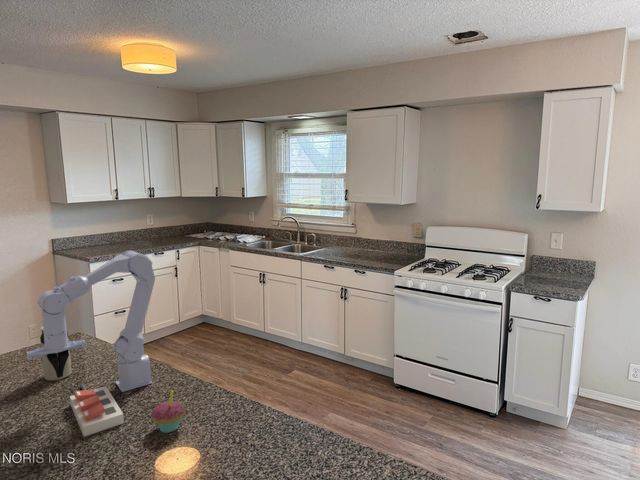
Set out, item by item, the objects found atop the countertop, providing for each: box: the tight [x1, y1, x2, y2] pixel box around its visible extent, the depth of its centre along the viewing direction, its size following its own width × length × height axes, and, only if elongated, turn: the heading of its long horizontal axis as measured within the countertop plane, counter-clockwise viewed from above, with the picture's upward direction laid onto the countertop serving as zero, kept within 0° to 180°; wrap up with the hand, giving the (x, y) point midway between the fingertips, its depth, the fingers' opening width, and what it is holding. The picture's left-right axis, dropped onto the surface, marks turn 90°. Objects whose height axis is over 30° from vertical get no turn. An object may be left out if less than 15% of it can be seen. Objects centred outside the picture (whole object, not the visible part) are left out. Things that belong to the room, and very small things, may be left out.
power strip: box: [69, 383, 125, 437], centre depth 128 cm, size 10×30×3 cm, turn 39°
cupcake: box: [150, 388, 185, 434], centre depth 117 cm, size 9×8×12 cm
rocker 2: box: [82, 403, 105, 421], centre depth 118 cm, size 5×4×1 cm
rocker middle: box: [78, 395, 100, 412], centre depth 123 cm, size 5×4×1 cm
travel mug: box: [39, 325, 72, 381], centre depth 146 cm, size 8×8×18 cm
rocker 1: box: [73, 388, 96, 400], centre depth 128 cm, size 5×4×1 cm
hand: (59, 376), depth 126 cm, fingers closed
